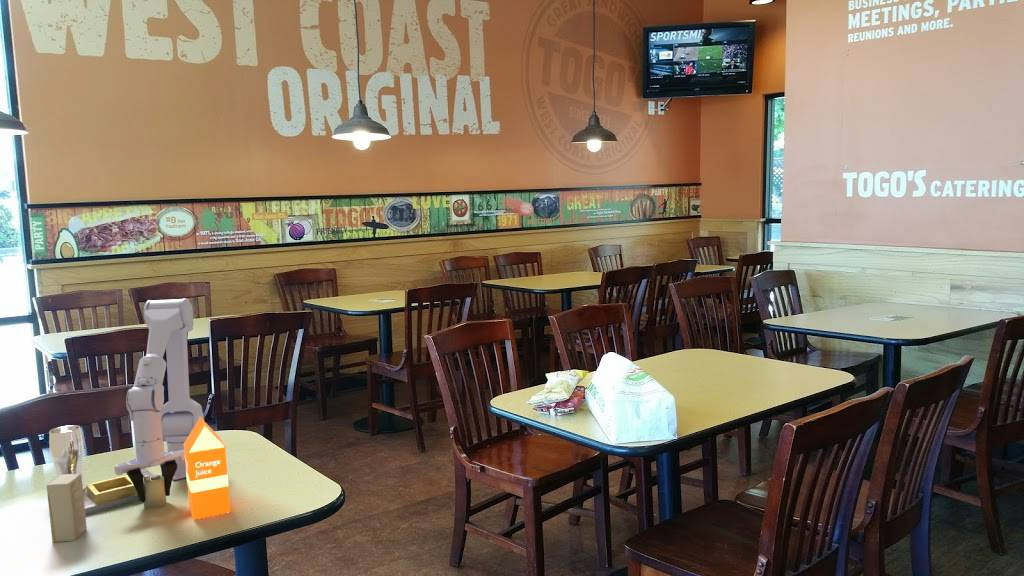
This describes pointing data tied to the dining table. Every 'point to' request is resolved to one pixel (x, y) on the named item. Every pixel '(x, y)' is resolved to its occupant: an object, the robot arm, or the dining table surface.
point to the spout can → (154, 491)
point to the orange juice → (206, 472)
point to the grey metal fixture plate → (110, 493)
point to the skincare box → (66, 507)
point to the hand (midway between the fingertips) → (154, 497)
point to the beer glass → (67, 450)
